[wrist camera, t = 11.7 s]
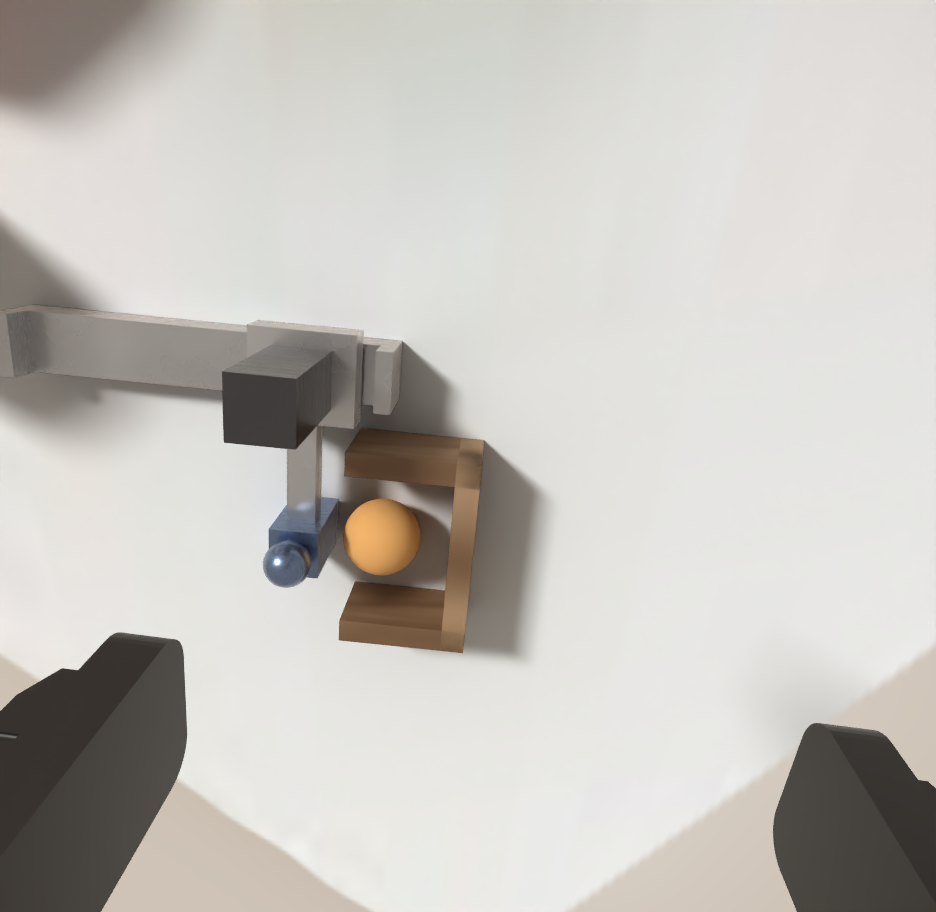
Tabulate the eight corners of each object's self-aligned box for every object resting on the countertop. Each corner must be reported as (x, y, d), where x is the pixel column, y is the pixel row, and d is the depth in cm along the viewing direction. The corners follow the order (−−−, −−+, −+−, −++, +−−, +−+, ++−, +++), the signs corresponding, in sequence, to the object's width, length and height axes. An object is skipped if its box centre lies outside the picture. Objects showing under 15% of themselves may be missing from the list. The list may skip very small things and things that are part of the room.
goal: (361, 428, 36) (344, 452, 32) (483, 440, 36) (482, 466, 32) (354, 600, 39) (339, 640, 35) (466, 611, 39) (462, 652, 35)
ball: (437, 511, 34) (401, 483, 38) (363, 523, 32) (332, 492, 35) (431, 580, 36) (397, 548, 39) (360, 596, 34) (331, 560, 37)
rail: (33, 304, 34) (-12, 312, 31) (402, 341, 34) (393, 352, 31) (40, 362, 35) (-3, 376, 32) (398, 398, 35) (389, 415, 32)
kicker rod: (269, 315, 34) (191, 347, 25) (370, 325, 34) (326, 360, 25) (271, 532, 38) (203, 624, 29) (360, 541, 37) (319, 636, 29)
